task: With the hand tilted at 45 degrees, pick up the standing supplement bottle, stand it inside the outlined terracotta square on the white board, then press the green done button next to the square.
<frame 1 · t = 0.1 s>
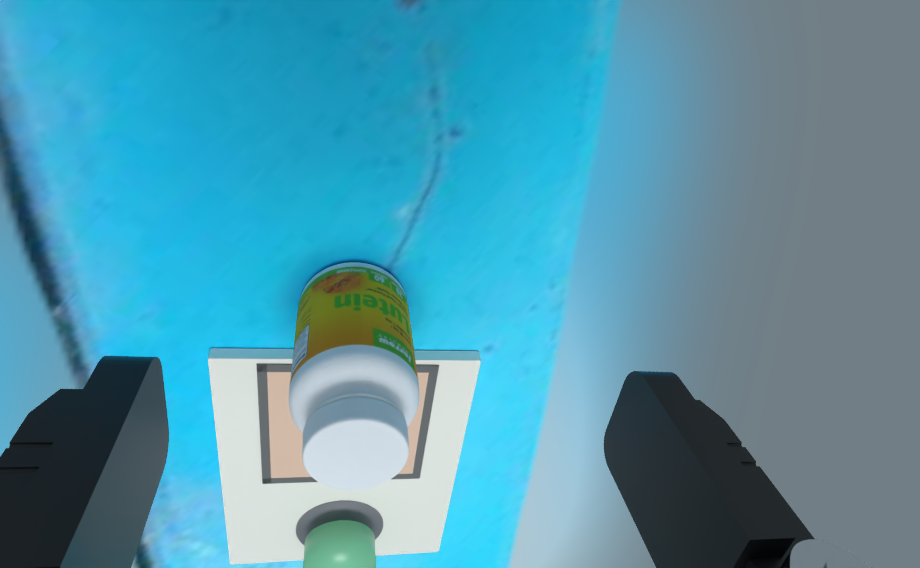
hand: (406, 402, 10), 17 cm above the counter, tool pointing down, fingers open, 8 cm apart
supplement bottle: (353, 301, 30), on the counter
done button: (339, 555, 37), point 3 cm above the counter, slide at 0.0 cm
white board: (343, 461, 37), on the counter
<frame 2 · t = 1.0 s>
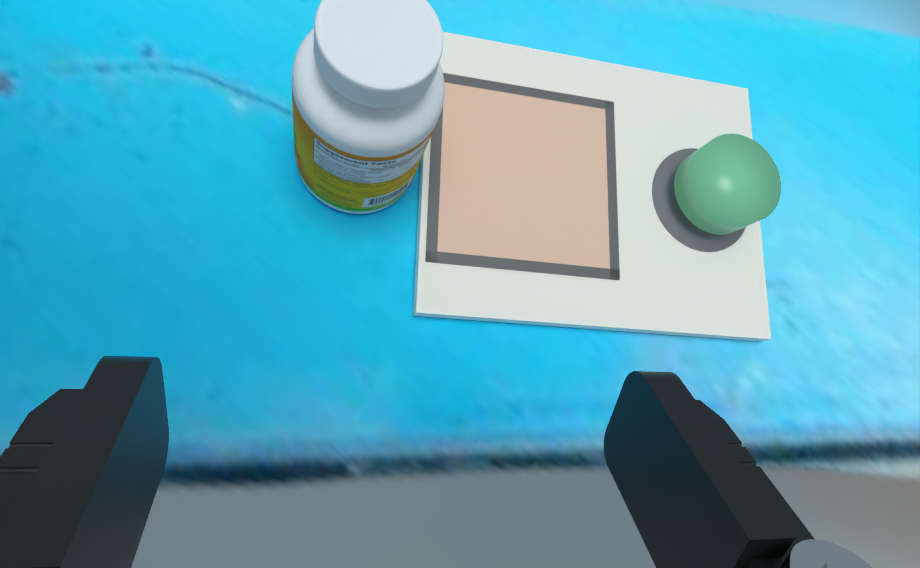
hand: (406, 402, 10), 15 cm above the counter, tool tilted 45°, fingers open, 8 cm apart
supplement bottle: (355, 163, 28), on the counter
done button: (726, 185, 29), point 3 cm above the counter, slide at 0.0 cm
white board: (595, 192, 30), on the counter
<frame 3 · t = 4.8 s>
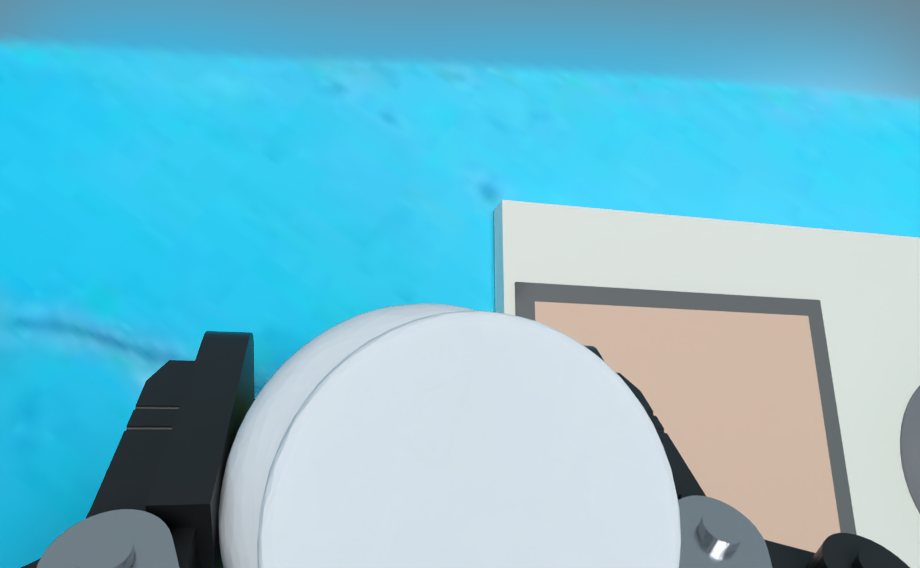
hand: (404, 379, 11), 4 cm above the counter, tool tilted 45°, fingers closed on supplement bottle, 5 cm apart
supplement bottle: (378, 469, 15), on the counter, touching gripper
white board: (799, 465, 17), on the counter
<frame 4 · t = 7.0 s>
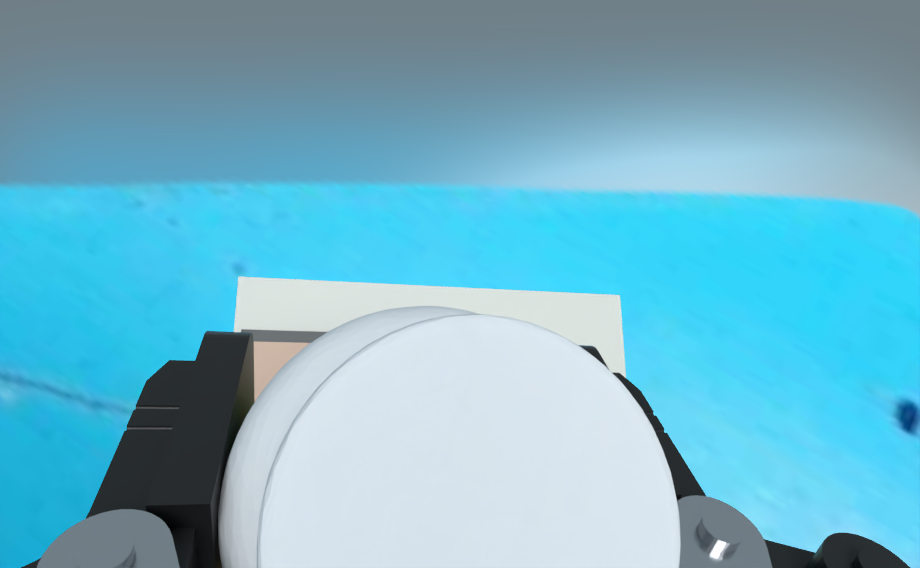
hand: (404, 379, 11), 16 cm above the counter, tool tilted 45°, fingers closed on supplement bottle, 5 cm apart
supplement bottle: (378, 471, 15), point 12 cm above the counter, touching gripper
white board: (439, 442, 27), on the counter
when the fingers open (6 cm above the counter, at t = 9.4 s): supplement bottle stays where it is, resting on white board.
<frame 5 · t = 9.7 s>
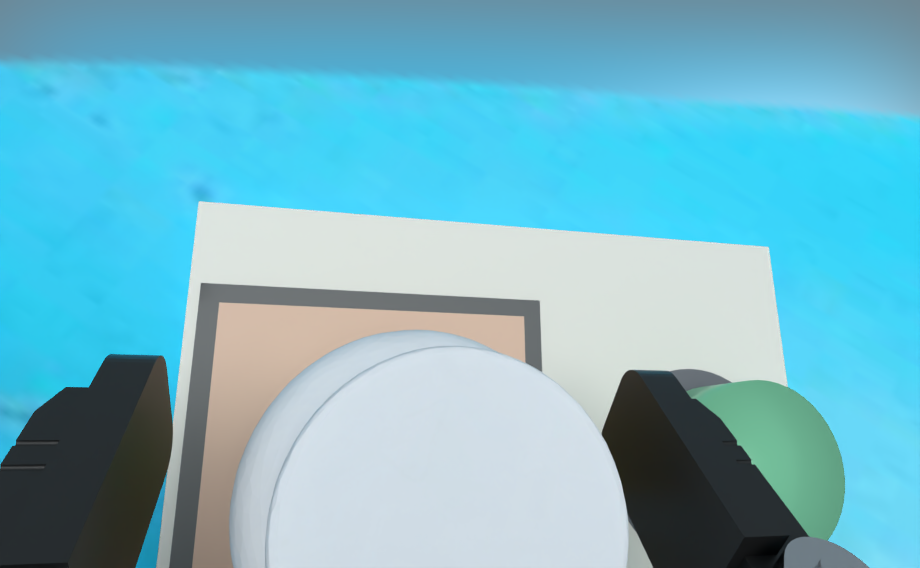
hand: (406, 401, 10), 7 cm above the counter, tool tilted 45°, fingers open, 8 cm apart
supplement bottle: (375, 476, 16), point 1 cm above the counter, touching white board
done button: (742, 467, 16), point 3 cm above the counter, slide at 0.0 cm
white board: (511, 465, 17), on the counter
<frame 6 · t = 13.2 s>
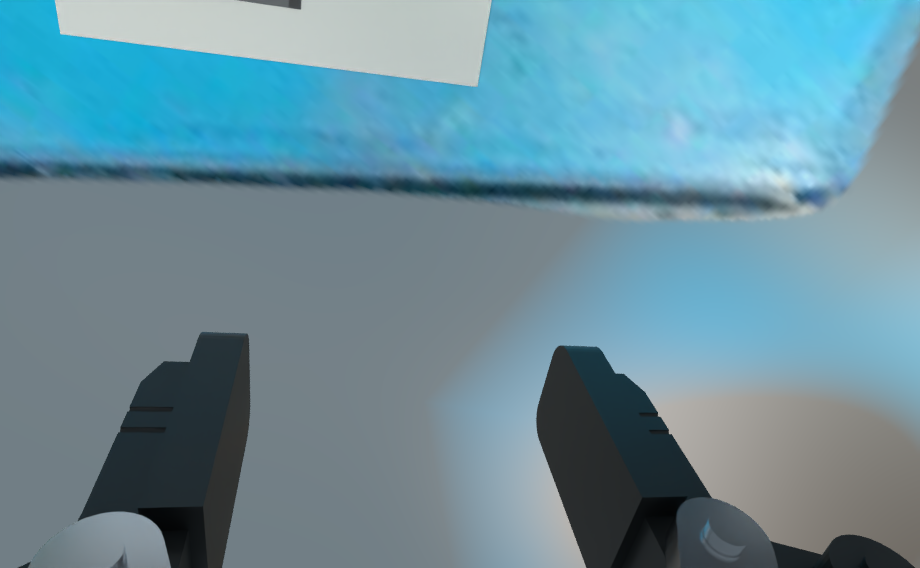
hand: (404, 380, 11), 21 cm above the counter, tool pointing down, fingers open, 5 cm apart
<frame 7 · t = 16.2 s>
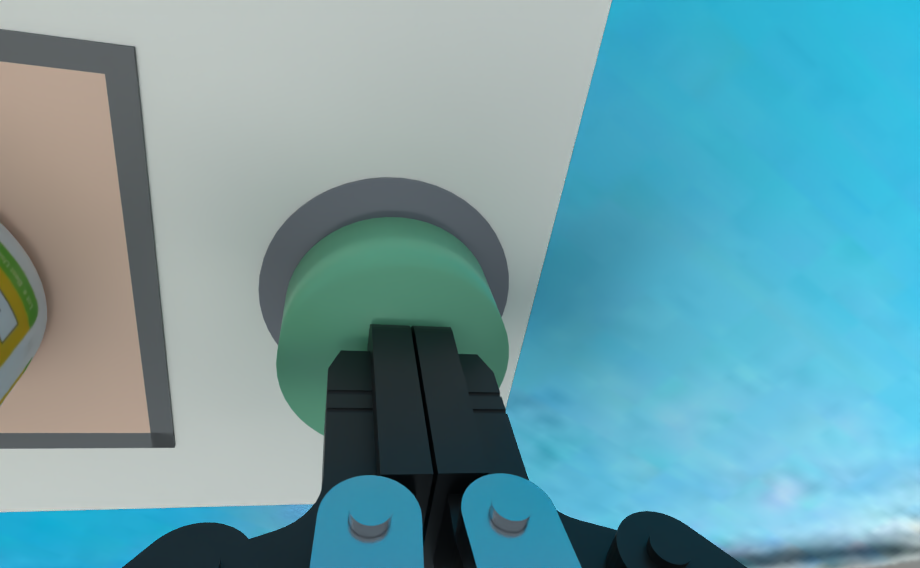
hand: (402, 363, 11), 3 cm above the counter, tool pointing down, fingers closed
done button: (392, 335, 12), point 2 cm above the counter, slide at 0.4 cm, touching gripper
white board: (133, 261, 13), on the counter
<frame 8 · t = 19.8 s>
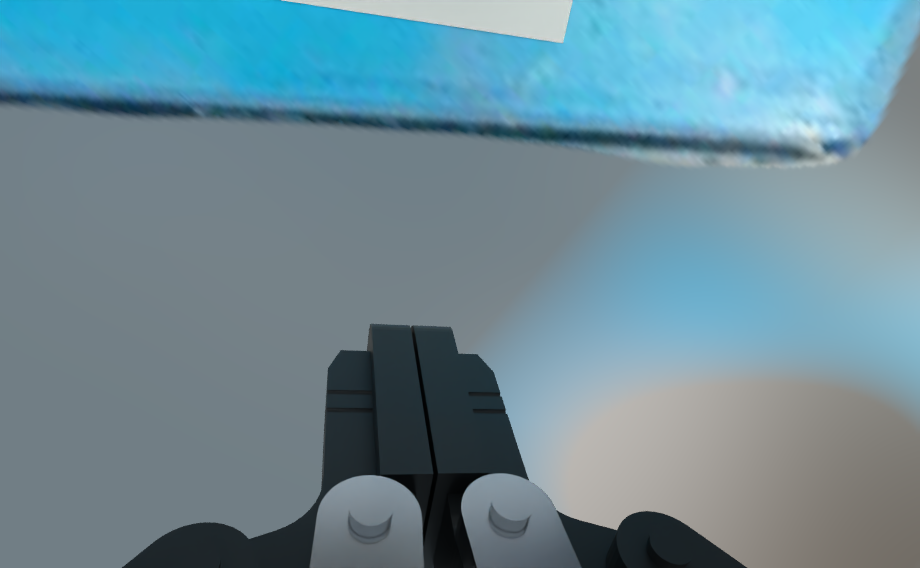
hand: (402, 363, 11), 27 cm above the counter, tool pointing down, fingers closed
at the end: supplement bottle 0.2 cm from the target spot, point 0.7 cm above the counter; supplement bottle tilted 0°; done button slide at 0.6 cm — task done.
